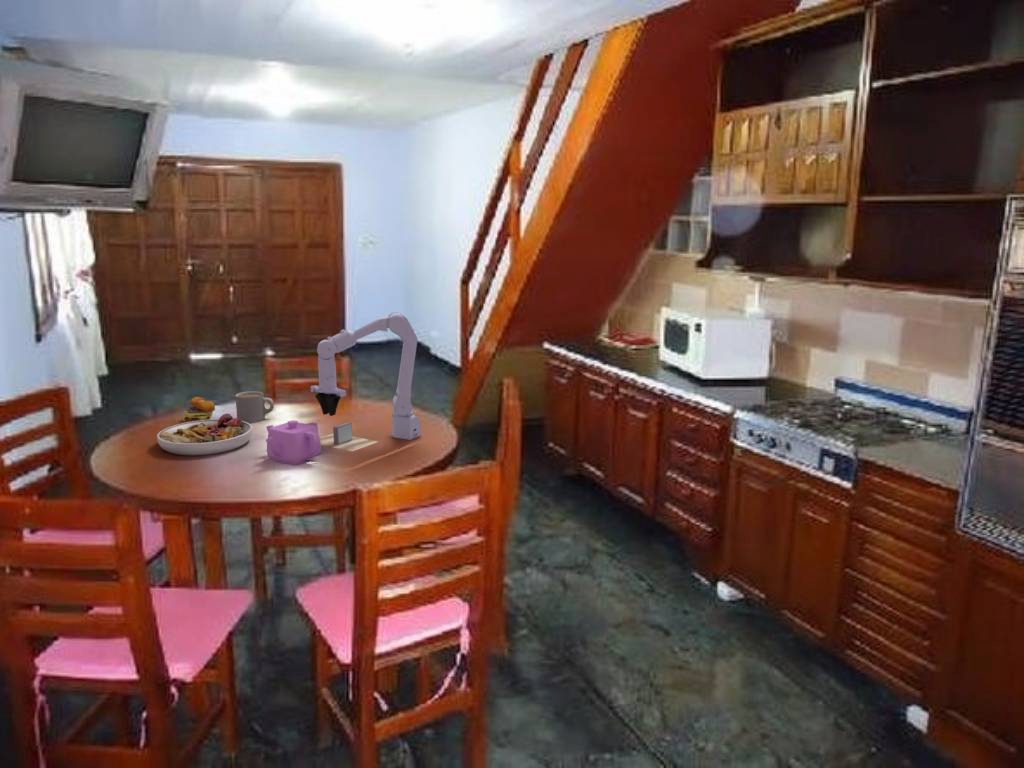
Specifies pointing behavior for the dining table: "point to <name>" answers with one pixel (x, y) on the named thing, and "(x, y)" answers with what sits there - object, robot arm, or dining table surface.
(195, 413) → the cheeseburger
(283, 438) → the teakettle
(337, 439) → the tile
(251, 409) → the coffee mug
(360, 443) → the board
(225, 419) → the bowl
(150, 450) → the dining table surface
